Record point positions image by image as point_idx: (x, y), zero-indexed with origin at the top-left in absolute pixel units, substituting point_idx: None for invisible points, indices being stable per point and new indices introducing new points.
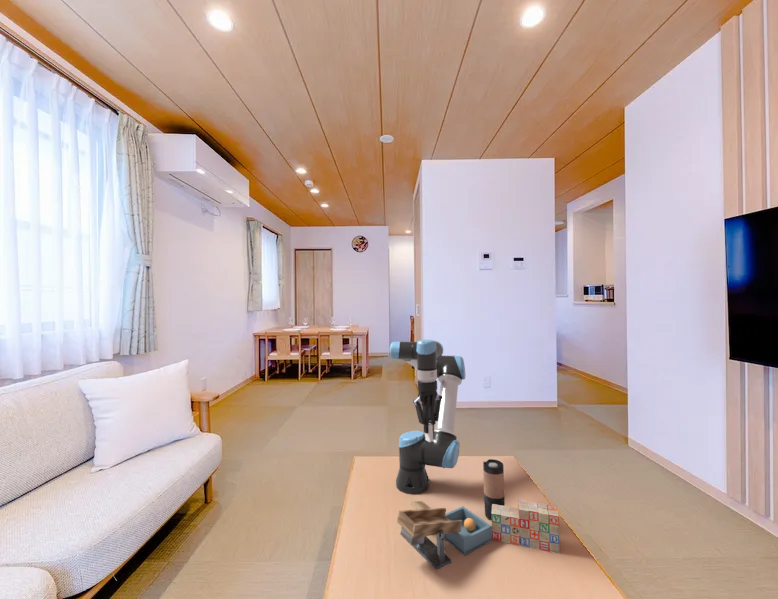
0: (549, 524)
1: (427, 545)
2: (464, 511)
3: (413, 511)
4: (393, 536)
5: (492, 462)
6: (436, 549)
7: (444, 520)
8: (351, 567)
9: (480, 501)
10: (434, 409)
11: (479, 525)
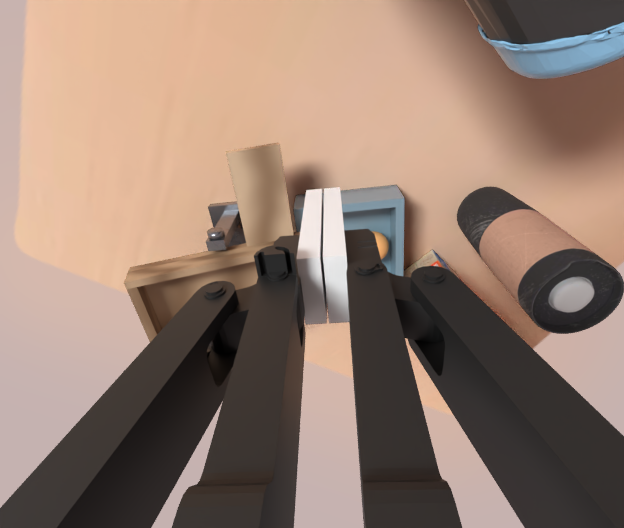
0: None
1: (242, 237)
2: (394, 210)
3: (179, 277)
4: (175, 156)
5: (600, 271)
6: None
7: None
8: (52, 208)
9: (518, 131)
10: (485, 401)
11: (392, 259)
